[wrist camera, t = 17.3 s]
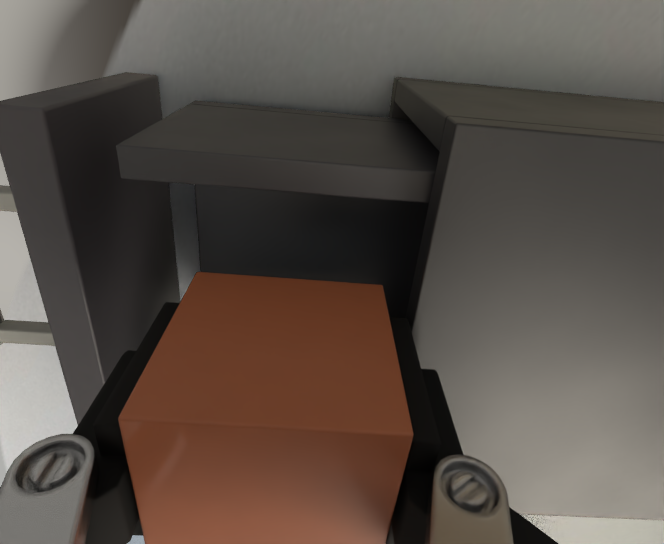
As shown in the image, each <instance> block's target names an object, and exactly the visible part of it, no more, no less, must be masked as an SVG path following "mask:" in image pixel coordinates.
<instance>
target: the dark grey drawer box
mask: <svg viewBox="0 0 664 544" xmlns="http://www.w3.org/2000/svg"><path fill="white" fill-rule="evenodd" d="M389 118H395V119H406V120H412V122H413V123H414V124H415V125H416V126H417V127H418V128H419V129H420V130H421V132H422V133H423V134H424V135H425V136H426V137H427V138H428V139H429V140H430V142H431V143H432V144H433V145H434V146H435V147H436V148H437V149H438V150H439V151H440V153H439V158H438V163H437V168H436V172H435V177H434V182H433V187H432V192H431V197H430V201H429V206H428V211H427V216H426V221H425V226H424V230H423V235H422V240H421V245H420V250H419V255H418V259H417V264H416V269H415V274H414V279H413V284H412V289H411V293H410V298H409V303H408V308H407V313H406V318H407V319H408V321H409V325H410V329H411V332H412V336H413V340H414V344H415V347H416V351H417V355H418V358H419V362H420V366H421V369H435V370H436V371H437V373H438V375H439V378H440V382H441V385H442V388H443V391H444V394H445V397H446V401H447V404H448V407H449V410H450V413H451V417H452V420H453V423H454V426H455V429H456V433H457V436H458V439H459V442H460V445H461V448H462V452H463V455H467V456H471V457H474V458H476V459H479V460H481V461H482V462H484V463H485V464H487V465H489V466H490V467H491V468H492V469H493V470H494V471H495V472H496V473H497V474H498V475H499V477H500V478H501V480H502V481H503V483H504V485H505V488H506V491H507V495H508V502H509V507H510V508H512V509H513V510H514V511H516V512H517V513H518V514H530V515H553V516H576V517H598V518H621V519H644V520H664V102H656V101H645V100H635V99H624V98H614V97H603V96H592V95H582V94H571V93H561V92H550V91H540V90H529V89H518V88H508V87H497V86H487V85H476V84H466V83H455V82H445V81H434V80H423V79H413V78H402V77H395V78H394V84H393V91H392V98H391V105H390V112H389Z"/></svg>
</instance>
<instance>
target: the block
mask: <svg viewBox="0 0 664 544" xmlns="http://www.w3.org/2000/svg"><path fill="white" fill-rule="evenodd" d="M118 421H119V426H120V430H121V435H122V440H123V444H124V449H125V453H126V458H127V463H128V467H129V472H130V476H131V481H132V486H133V490H134V495H135V499H136V504H137V508H138V513H139V518H140V522H141V527H142V531H143V536H144V541H145V544H385V543H386V539H387V535H388V531H389V527H390V524H391V520H392V516H393V512H394V508H395V504H396V501H397V497H398V493H399V489H400V485H401V481H402V477H403V474H404V470H405V466H406V462H407V458H408V454H409V450H410V447H411V443H412V439H413V435H414V434H413V429H412V424H411V419H410V414H409V410H408V405H407V400H406V395H405V390H404V386H403V381H402V376H401V371H400V366H399V362H398V357H397V352H396V347H395V342H394V338H393V333H392V328H391V323H390V318H389V314H388V309H387V304H386V299H385V294H384V290H383V286H382V285H376V284H362V283H348V282H334V281H320V280H306V279H292V278H278V277H264V276H250V275H236V274H222V273H208V272H196V274H195V276H194V278H193V280H192V282H191V283H190V285H189V287H188V289H187V291H186V293H185V295H184V296H183V298H182V300H181V302H180V304H179V306H178V308H177V309H176V311H175V313H174V315H173V317H172V319H171V321H170V323H169V324H168V326H167V328H166V330H165V332H164V334H163V336H162V337H161V339H160V341H159V343H158V345H157V347H156V349H155V350H154V352H153V354H152V356H151V358H150V360H149V362H148V363H147V365H146V367H145V369H144V371H143V373H142V375H141V376H140V378H139V380H138V382H137V384H136V386H135V388H134V389H133V391H132V393H131V395H130V397H129V399H128V401H127V402H126V404H125V406H124V408H123V410H122V412H121V414H120V415H119V418H118Z"/></svg>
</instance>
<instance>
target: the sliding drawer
mask: <svg viewBox="0 0 664 544" xmlns="http://www.w3.org/2000/svg"><path fill="white" fill-rule="evenodd" d="M0 153H1V156H2V160H3V163H4V167H5V170H6V174H7V177H8V181H9V185H10V186H1V185H0V211H12V212H17V213H18V216H19V220H20V223H21V227H22V230H23V234H24V237H25V241H26V244H27V248H28V251H29V255H30V258H31V262H32V265H33V269H34V272H35V276H36V280H37V283H38V287H39V290H40V294H41V297H42V301H43V304H44V308H45V311H46V315H47V318H48V322H49V323H46V322H31V321H15V320H5V321H4V319H3V316H2V313H1V310H0V345H1V344H2V343H18V344H35V345H51V346H56V350H57V353H58V357H59V360H60V364H61V367H62V371H63V375H64V378H65V382H66V385H67V389H68V392H69V396H70V399H71V403H72V406H73V410H74V413H75V417H76V420H77V424H78V425H79V423H80V422H81V420H82V419H83V417H84V415H85V414H86V412H87V411H88V409H89V407H90V406H91V404H92V403H93V401H94V399H95V398H96V396H97V395H98V393H99V391H100V390H101V388H102V387H103V385H104V384H105V382H106V380H107V379H108V377H109V376H110V374H111V372H112V371H113V369H114V368H115V366H116V364H117V363H118V361H119V360H120V358H121V356H122V355H123V354H124V353H125V352H126V351H128V350H131V351H137V349H138V347H139V346H140V344H141V342H142V341H143V339H144V337H145V335H146V334H147V332H148V330H149V329H150V327H151V325H152V324H153V322H154V320H155V319H156V317H157V315H158V314H159V312H160V310H161V308H162V307H163V305H164V304H165V303H166V302H174V303H180V292H179V282H178V272H177V262H176V252H175V242H174V232H173V222H172V212H171V202H170V192H169V182H170V183H183V184H195V198H196V212H197V227H198V241H199V255H200V270H201V272H208V273H222V274H236V275H250V276H264V277H278V278H292V279H306V280H320V281H334V282H348V283H362V284H376V285H382V286H383V290H384V294H385V299H386V304H387V309H388V314H389V317H394V318H406V313H407V308H408V303H409V298H410V293H411V289H412V284H413V279H414V274H415V269H416V264H417V259H418V255H419V250H420V245H421V240H422V235H423V230H424V226H425V221H426V216H427V211H428V206H429V201H430V197H431V192H432V187H433V182H434V177H435V172H436V168H437V163H438V158H439V153H440V151H439V150H438V149H437V148H436V147H435V146H434V145H433V144H432V143H431V142H430V140H429V139H428V138H427V137H426V136H425V135H424V134H423V133H422V132H421V130H420V129H419V128H418V127H417V126H416V125H415V124H414V123H413V122H412V120H406V119H395V118H384V117H372V116H361V115H350V114H339V113H328V112H317V111H306V110H294V109H283V108H272V107H261V106H250V105H239V104H228V103H216V102H205V101H194V102H192V103H190V104H189V105H187V106H185V107H183V108H181V109H180V110H178V111H176V112H174V113H173V114H171V115H169V116H167V117H165V118H164V119H162V112H161V102H160V92H159V81H158V76H156V75H150V74H139V73H128V72H125V73H121V74H117V75H112V76H108V77H103V78H99V79H95V80H90V81H86V82H82V83H77V84H73V85H69V86H64V87H60V88H55V89H51V90H47V91H42V92H38V93H33V94H29V95H25V96H21V97H16V98H12V99H7V100H3V101H0Z"/></svg>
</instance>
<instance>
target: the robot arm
mask: <svg viewBox="0 0 664 544" xmlns="http://www.w3.org/2000/svg"><path fill="white" fill-rule="evenodd" d="M179 304H180V303H174V302H166V303H165V304H164V305H163V307H162V308H161V310H160V312H159V314H158V315H157V317H156V319H155V320H154V322H153V324H152V325H151V327H150V329H149V330H148V332H147V334H146V335H145V337H144V339H143V341H142V342H141V344H140V346H139V347H138V349H137V351H131V350H128V351H126V352H125V353H124V354H123V355H122V356H121V358H120V360H119V361H118V363H117V364H116V366H115V368H114V369H113V371H112V372H111V374H110V376H109V377H108V379H107V380H106V382H105V384H104V385H103V387H102V388H101V390H100V391H99V393H98V395H97V396H96V398H95V399H94V401H93V403H92V404H91V406H90V407H89V409H88V411H87V412H86V414H85V415H84V417H83V419H82V420H81V422H80V423H79V425H78V427H77V428H76V430H75V431H74V433H73V434H60V435H56V436H51V437H48V438H46V439H43V440H41V441H39V442H36V443H35V444H33V445H32V446H30V447H29V448H27V449H26V450H24V451H23V452H22V453H21V454H20V455H19V456H18V457H17V458H16V459H15V460H14V461H13V463H12V465H11V466H10V468H9V469H8V471H7V473H6V476H5V478H4V481H3V483H2V485H1V487H0V544H127V543H128V542H129V541H130V540H131V538H132V535H143V531H142V527H141V522H140V518H139V513H138V508H137V504H136V499H135V495H134V490H133V486H132V481H131V476H130V472H129V467H128V463H127V458H126V453H125V449H124V444H123V440H122V435H121V430H120V426H119V421H118V418H119V415H120V414H121V412H122V410H123V408H124V406H125V404H126V402H127V401H128V399H129V397H130V395H131V393H132V391H133V389H134V388H135V386H136V384H137V382H138V380H139V378H140V376H141V375H142V373H143V371H144V369H145V367H146V365H147V363H148V362H149V360H150V358H151V356H152V354H153V352H154V350H155V349H156V347H157V345H158V343H159V341H160V339H161V337H162V336H163V334H164V332H165V330H166V328H167V326H168V324H169V323H170V321H171V319H172V317H173V315H174V313H175V311H176V309H177V308H178V306H179ZM389 318H390V323H391V328H392V333H393V338H394V342H395V347H396V352H397V357H398V362H399V366H400V371H401V376H402V381H403V386H404V390H405V395H406V400H407V405H408V410H409V414H410V419H411V424H412V429H413V434H414V435H413V439H412V443H411V447H410V450H409V454H408V458H407V462H406V466H405V470H404V474H403V477H402V481H401V485H400V489H399V493H398V497H397V501H396V504H395V508H394V512H393V516H392V520H391V524H390V527H389V531H388V535H387V539H386V544H558V543H557V542H555V541H554V540H553V539H551V538H550V537H549V536H547V535H546V534H545V533H543V532H542V531H541V530H539V529H538V528H537V527H536V526H534V525H533V524H532V523H530V522H529V521H528V520H526V519H525V518H524V517H522V516H521V515H520V514H518V513H517V512H516V511H514V510H513V509H512V508H510V507H509V502H508V495H507V491H506V488H505V485H504V483H503V481H502V480H501V478H500V477H499V475H498V474H497V473H496V472H495V471H494V470H493V469H492V468H491V467H490V466H489V465H487V464H485V463H484V462H482V461H481V460H479V459H476V458H474V457H471V456H467V455H463V452H462V448H461V445H460V442H459V439H458V436H457V433H456V429H455V426H454V423H453V420H452V417H451V413H450V410H449V407H448V404H447V401H446V397H445V394H444V391H443V388H442V385H441V382H440V378H439V375H438V373H437V371H436V370H435V369H421V366H420V362H419V358H418V355H417V351H416V347H415V344H414V340H413V336H412V332H411V329H410V325H409V321H408V319H407V318H394V317H389Z"/></svg>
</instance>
